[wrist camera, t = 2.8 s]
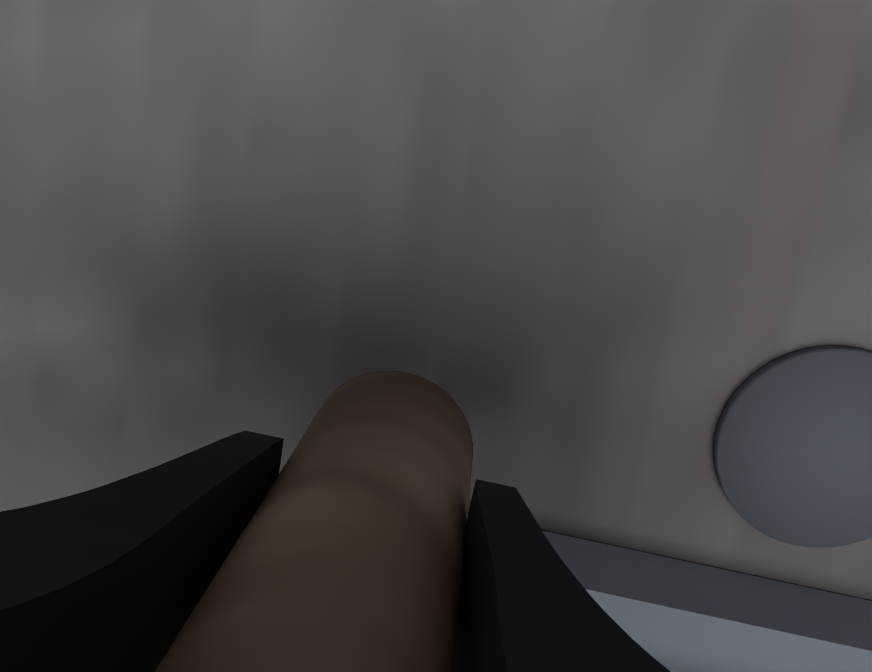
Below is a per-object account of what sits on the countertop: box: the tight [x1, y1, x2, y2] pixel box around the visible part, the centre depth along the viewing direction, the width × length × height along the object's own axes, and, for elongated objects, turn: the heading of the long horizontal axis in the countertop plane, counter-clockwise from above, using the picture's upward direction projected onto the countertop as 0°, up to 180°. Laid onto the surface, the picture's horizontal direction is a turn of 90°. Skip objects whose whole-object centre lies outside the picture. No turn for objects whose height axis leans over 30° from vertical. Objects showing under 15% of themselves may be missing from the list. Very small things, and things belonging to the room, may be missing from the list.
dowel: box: [155, 371, 473, 672], centre depth 10 cm, size 3×3×9 cm
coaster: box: [713, 345, 872, 548], centre depth 16 cm, size 5×5×1 cm
